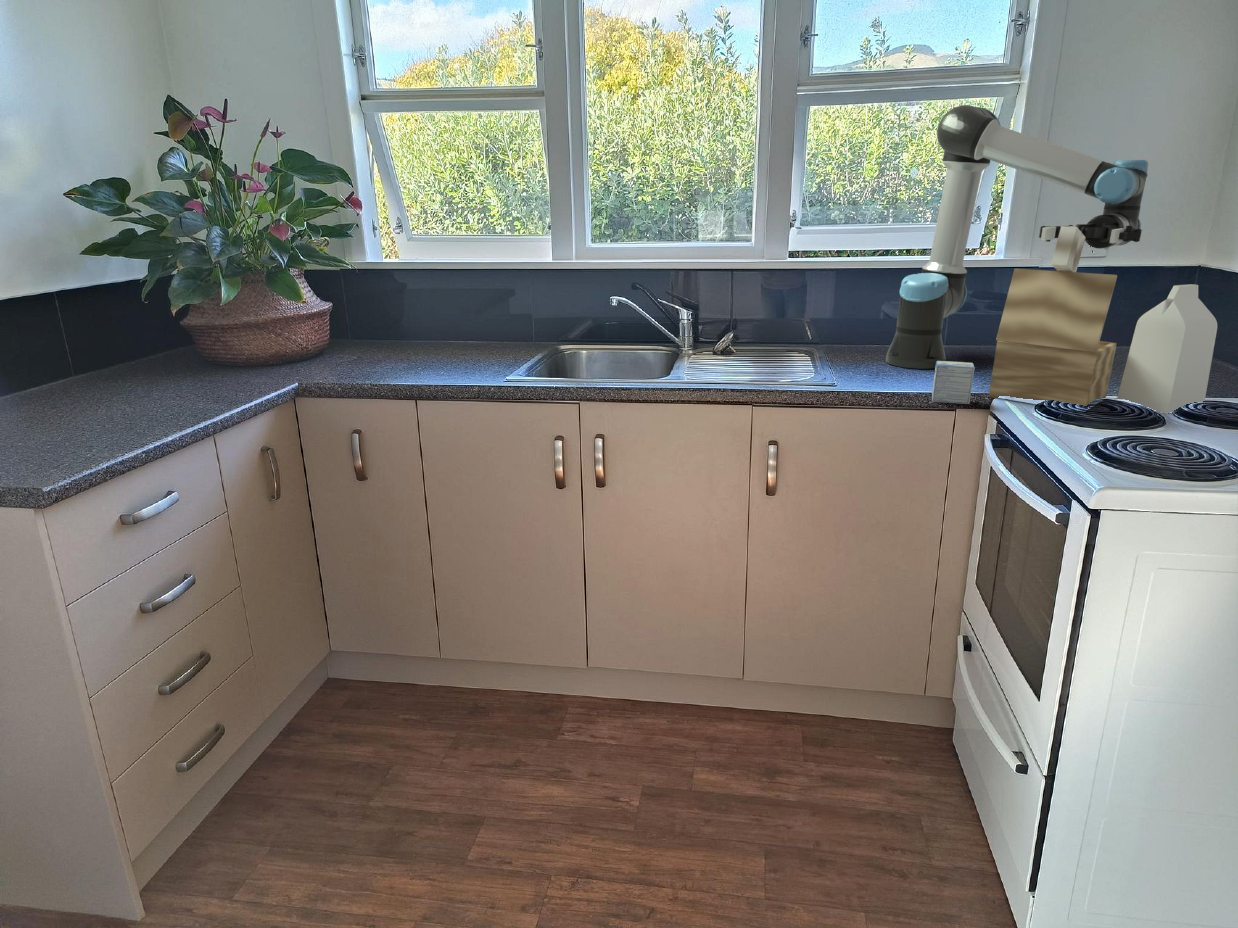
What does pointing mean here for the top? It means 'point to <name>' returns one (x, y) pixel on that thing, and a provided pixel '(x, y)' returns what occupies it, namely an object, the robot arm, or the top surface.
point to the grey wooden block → (953, 382)
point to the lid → (1058, 301)
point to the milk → (1171, 353)
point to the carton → (1051, 372)
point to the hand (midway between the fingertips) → (1077, 235)
